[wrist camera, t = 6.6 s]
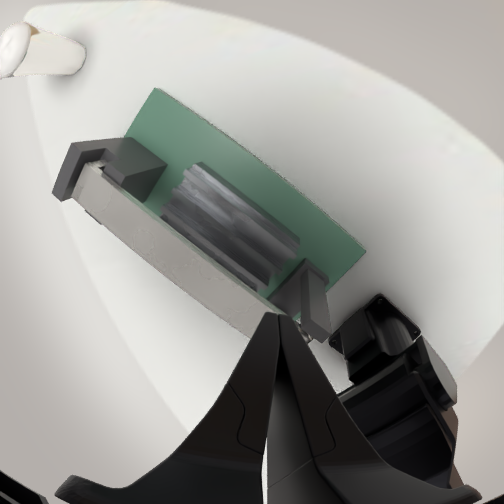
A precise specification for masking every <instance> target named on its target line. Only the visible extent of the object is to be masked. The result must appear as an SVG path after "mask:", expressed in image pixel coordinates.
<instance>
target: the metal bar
mask: <svg viewBox="0 0 504 504" xmlns="http://www.w3.org/2000/svg"><path fill="white" fill-rule="evenodd" d="M106 164H107V161H106V160H105V159H104V160H99V161H94V162H89V163H85V165H84V167H83V169H82V172H81V174H80V176H79V179H78V181H77V183H76V186H75V188H74V190H73V193H72V195H71V197H72V198H73V199H74V200H75V201H77V202H78V203H79V204H80V205H81V206H82V207H83V208H84V209H85V210H87V211H88V212H89V213H90V214H91V215H92V216H93V217H94V218H96V219H97V220H98V221H99V222H100V223H101V224H102V225H104V226H105V227H106V228H107V229H108V230H109V231H111V232H112V233H113V234H114V235H115V236H116V237H118V238H119V239H120V240H121V241H122V242H124V243H125V244H126V245H127V246H128V247H130V248H131V249H132V250H133V251H134V252H136V253H137V254H138V255H139V256H141V257H142V258H143V259H144V260H145V261H147V262H148V263H149V264H150V265H152V266H153V267H154V268H155V269H157V270H158V271H159V272H161V273H162V274H163V275H164V276H166V277H167V278H168V279H169V280H171V281H172V282H173V283H175V284H176V285H177V286H178V287H180V288H181V289H182V290H184V291H185V292H186V293H188V294H189V295H190V296H192V297H193V298H194V299H196V300H197V301H198V302H200V303H201V304H202V305H204V306H205V307H206V308H208V309H209V310H211V311H212V312H213V313H215V314H216V315H217V316H219V317H220V318H222V319H223V320H224V321H226V322H227V323H229V324H230V325H231V326H233V327H234V328H236V329H237V330H238V331H240V332H241V333H243V334H244V335H246V336H247V337H249V338H250V339H251V338H252V336H253V334H254V332H255V330H256V328H257V326H258V325H259V323H260V321H261V319H262V317H263V315H264V313H265V312H272V313H277V315H278V314H284V315H287V314H285V313H284V312H282V311H281V310H280V309H278V308H277V307H276V306H274V305H273V304H272V303H270V302H269V301H268V300H266V299H265V298H264V297H262V296H261V295H260V294H258V293H257V292H256V291H254V290H253V289H252V288H250V287H249V286H248V285H246V284H245V283H244V282H242V281H241V280H240V279H238V278H237V277H236V276H234V275H233V274H232V273H230V272H229V271H228V270H226V269H225V268H224V267H222V266H221V265H220V264H219V263H217V262H216V261H215V260H213V259H212V258H211V257H209V256H208V255H207V254H206V253H204V252H203V251H202V250H200V249H199V248H198V247H196V246H195V245H194V244H193V243H191V242H190V241H189V240H187V239H186V238H185V237H184V236H182V235H181V234H180V233H179V232H177V231H176V230H175V229H173V228H172V227H171V226H170V225H168V224H167V223H166V222H165V221H163V220H162V219H161V218H160V217H158V216H157V215H156V214H155V213H153V212H152V211H151V210H150V209H148V208H147V207H146V206H145V205H143V204H142V203H141V202H140V201H138V200H137V199H136V198H135V197H133V196H132V195H131V194H130V193H128V192H127V191H126V190H125V189H124V188H122V187H121V186H120V185H119V184H117V183H116V182H115V181H114V180H113V179H111V178H110V177H109V176H108V175H106V174H105V173H104V172H103V170H104V168H105V166H106ZM293 321H294V322H295V324H296V326H297V327H298V329H299V331H300V333H301V334H302V336H303V338H304V339H305V341H306V343H307V344H308V343H309V342H311V341H312V340H313V339H314V338H313V337H312V336H311V335H309V334H308V333H306V332H305V331H304V330H302V329H301V324H299V323H298V322H296V321H295V320H293Z"/></svg>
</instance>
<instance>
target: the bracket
mask: <svg viewBox="0 0 504 504" xmlns="http://www.w3.org/2000/svg"><path fill="white" fill-rule="evenodd" d="M329 283H330V282H329V277H328V276H327V275H326V274H325V273H323V272H322V271H321V270H320V269H319V268H317V267H316V266H315V265H314V264H312V263H311V262H310V261H309V260H307V259H306V258H305V259H304V260H303V261H302V262H301V263H300V264H299V265H298V266H297V267H296V268H295V269H294V270H293V271H292V272H291V273H290V274H289V276H288V277H287V278H286V279H285V280H284V281H283V282H282V283H281V284H280V285H279V286H278V287H277V288H276V289H275V290H274V291H273V292H272V293H271V294H270V295H269V296H268V297H267V298H266V300H268V301H269V302H270V303H272V304H273V305H274V306H276V307H277V308H278V309H280V310H281V311H282V312H284V313H285V314H287V315H289V316H291V317H292V318H294V317H295V316H296V315H297V314H298V313H299V312H300V311H301V329H302V330H304V331H305V332H306V333H308V334H309V335H311V336H312V337H313V338H315V339H316V340H318V341H319V342H321V343H323V342H324V341H325V340H326V339H327V338H328V337H330V336H331V335H332V333H331V325H330V318H329V311H328V304H327V297H326V291H325V287H326V286H327V285H328V284H329Z"/></svg>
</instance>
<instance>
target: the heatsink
mask: <svg viewBox="0 0 504 504" xmlns="http://www.w3.org/2000/svg"><path fill="white" fill-rule="evenodd" d="M183 175H184V176H185V178H184V179H183V181H182V182H181V184H180V185H178V186H176V187H174V188H173V189H172V191H171V193H172V194H173V196H172V198H171V199H170V201H169V202H167V203H165V204H164V205H162V206H161V208H160V211H161V212H162V213H161V215H160V218H161V219H162V220H163V221H165V222H166V223H167V224H168V225H170V226H171V227H172V228H173V229H175V230H176V231H177V232H179V233H180V234H181V235H182V236H184V237H185V238H186V239H187V240H189V241H190V242H191V243H193V244H194V245H195V246H196V247H198V248H199V249H200V250H202V251H203V252H204V253H206V254H207V255H208V256H209V257H211V258H212V259H213V260H215V261H216V262H217V263H219V264H220V265H221V266H222V267H224V268H225V269H226V270H228V271H229V272H230V273H232V274H233V275H234V276H236V277H237V278H238V279H240V280H241V281H242V282H244V283H245V284H246V285H248V286H249V287H250V288H252V289H253V290H254V291H256V292H258V291H259V290H260V289H261V288H262V289H263V290H264V291H265V290H266V289H267V287H268V285H269V280H270V278H271V277H272V276H273V275H274V274H275V273H276V274H277V275H278V276H279V275H280V274H281V273H282V271H283V264H284V263H285V262H286V261H287V260H288V259H289V257H290V258H291V259H293V260H294V259H295V258H296V256H297V249H298V248H299V247H300V238H299V237H298V236H297V235H295V234H294V233H293V232H292V231H290V230H289V229H288V228H287V227H285V226H284V225H283V224H282V223H280V222H279V221H278V220H277V219H275V218H274V217H273V216H272V215H270V214H269V213H268V212H267V211H265V210H264V209H263V208H262V207H260V206H259V205H258V204H256V203H255V202H254V201H253V200H251V199H250V198H249V197H248V196H246V195H245V194H244V193H242V192H241V191H240V190H238V189H237V188H236V187H235V186H233V185H232V184H231V183H229V182H228V181H227V180H225V179H224V178H223V177H222V176H220V175H219V174H218V173H216V172H215V171H214V170H212V169H211V168H210V167H208V166H207V165H206V164H204V163H203V162H202V161H201V162H198V163H194V165H193V166H192V167H190V168H187V169H185V171H184V172H183Z"/></svg>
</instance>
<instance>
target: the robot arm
mask: <svg viewBox="0 0 504 504" xmlns="http://www.w3.org/2000/svg"><path fill="white" fill-rule="evenodd" d="M379 299H382V300H381V301H380V302H378V300H379ZM416 331H417V332H416ZM414 332H416V333H414ZM420 333H421V331H420V329H419V327H418V326H416V325H415V324H414V323H413V322H412V321H411V320H410V319H409V318H408V317H407V316H406V315H405V314H404V313H403V312H402V311H400V310H399V309H398V308H397V307H396V306H395V305H394V304H393V303H392V302H391V301H390V300H389V299H387V298H386V297H385V296H384V295H383V294H377V295H376V296H375V297H374V298H373V299H372V300H371V301H370V302H369V303H367V304H366V305H365V306H364V307H363V308H362V309H359V310H358V311H357V312H356V313H355V314H354V315H353V316H352V317H351V318H350V319H348V320H347V321H346V322H345V323H344V324H343V325H342V326H341V327H340V329H339V330H338V331H336V332H335V333H334V334H333V335H332V336H331V337H330V338H329V340H328V341H329V345H330V346H331V347H333V348H334V349H335V350H337V351H338V352H340V353H341V354H342V355H344V359H345V360H346V364H347V371H348V377H349V380H350V381H351V382H352V384H353V385H352V386H351V387H349V388H347V389H346V390H344V391H342V392H341V393H339V394H336V392H335V391H334V389H333V387H332V385H331V384H330V382H329V380H328V379H327V377H326V375H325V374H324V372H323V370H322V368H321V367H320V365H319V363H318V362H317V360H316V358H315V356H314V355H313V353H312V351H311V350H310V348H309V346H308V345H307V343H306V341H305V339H304V338H303V336H302V334H301V333H300V331H299V329H298V327H297V326H296V324H295V322H294V321H293V319H292V317H291V316H289V315H284V314H278V315H277V313H272V312H265V313H264V315H263V317H262V319H261V321H260V323H259V325H258V326H257V328H256V330H255V332H254V334H253V336H252V338H251V339H250V341H249V343H248V345H247V347H246V349H245V350H244V352H243V354H242V356H241V358H240V360H239V361H238V363H237V365H236V367H235V369H234V370H233V372H232V374H231V376H230V378H229V379H228V381H227V384H226V385H225V386H224V388H223V390H222V392H221V393H220V395H219V397H218V398H217V400H216V401H215V403H214V404H213V406H212V407H211V409H210V410H209V411H208V412H207V414H206V415H205V416H204V418H203V419H202V420H201V421H200V422H199V424H198V425H197V426H196V427H195V428H194V430H193V431H192V432H191V433H190V434H189V435H188V437H187V438H186V439H185V440H184V441H183V442H182V444H181V445H180V446H179V447H178V448H177V449H176V450H175V451H174V452H173V453H172V454H171V455H170V456H169V457H168V458H166V459H165V460H164V461H163V462H161V463H160V464H159V465H157V466H156V467H155V468H153V469H152V470H151V471H149V472H148V473H146V474H145V475H144V476H142V477H141V478H139V479H138V480H137V481H135V482H134V483H132V484H131V485H129V486H127V487H123V488H110V487H106V486H103V485H101V484H98V483H95V482H93V481H90V480H88V479H85V478H82V477H79V476H76V475H71V476H70V477H69V478H68V479H67V480H66V481H65V482H64V483H63V484H62V485H61V486H60V487H59V488H58V490H57V491H56V493H55V496H56V497H58V498H60V499H61V500H63V501H65V502H67V503H69V504H263V489H262V462H263V455H264V450H265V444H266V438H267V488H268V489H267V504H473V503H475V502H477V501H479V500H481V499H482V496H481V494H480V493H479V492H478V491H477V490H476V489H474V488H472V487H471V486H469V485H464V484H463V482H462V480H461V478H460V476H459V474H458V471H457V469H456V467H455V465H454V454H455V447H456V439H457V430H458V418H457V416H456V414H455V412H454V410H453V408H452V406H453V405H455V404H456V403H457V385H456V383H455V381H454V379H453V377H452V375H451V373H450V371H449V370H448V368H447V366H446V364H445V363H444V362H443V361H442V359H441V358H440V357H439V355H438V354H437V353H436V352H435V350H434V349H433V348H432V347H431V345H430V344H429V343H428V342H427V341H426V339H425V338H424V337H423V336H422V335H421V336H420V337H419V338H417V337H418V336H419V335H420ZM416 338H417V339H416ZM415 339H416V342H414V343H413V341H414V340H415ZM333 340H336V341H335V342H332V341H333ZM0 504H49V503H48V502H47V500H46V498H45V497H43V496H42V495H40V494H38V493H36V492H35V491H33V490H31V489H29V488H27V487H26V486H24V485H22V484H21V483H19V482H18V481H16V480H14V479H13V478H11V477H10V476H8V475H7V474H5V473H4V472H2V471H1V470H0ZM483 504H504V494H502V495H500V496H498V497H496V498H494V499H492V500H490V501H488V502H485V503H483Z"/></svg>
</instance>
